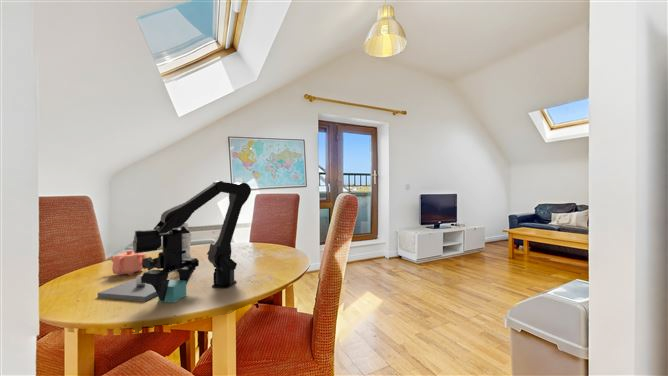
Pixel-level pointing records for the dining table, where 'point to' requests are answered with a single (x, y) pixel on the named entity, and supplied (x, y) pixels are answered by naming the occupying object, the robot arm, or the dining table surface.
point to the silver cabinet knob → (139, 282)
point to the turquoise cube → (175, 291)
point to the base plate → (129, 292)
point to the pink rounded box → (127, 263)
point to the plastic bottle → (186, 242)
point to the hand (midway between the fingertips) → (172, 295)
